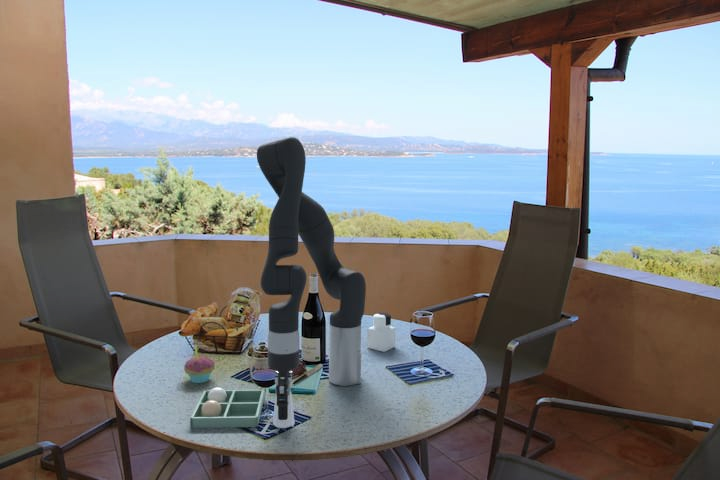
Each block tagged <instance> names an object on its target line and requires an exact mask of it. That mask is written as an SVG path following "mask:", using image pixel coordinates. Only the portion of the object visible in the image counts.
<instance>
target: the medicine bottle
mask: <svg viewBox="0 0 720 480" xmlns="http://www.w3.org/2000/svg"><path fill="white" fill-rule="evenodd" d="M372 319H373V321H372V323H373V325H372V326H370V327H369V328H367V349H371V350H375V351H379V352H383V353H385V352H388V351H389V350H391V349H393V348H396V331H397V328H396V327H395V326H392V325H391V323H392V316H391V314H389V313H387V312H377V313H374V314H373V317H372Z"/></svg>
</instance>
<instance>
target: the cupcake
mask: <svg viewBox="0 0 720 480" xmlns="http://www.w3.org/2000/svg"><path fill="white" fill-rule="evenodd" d="M194 352H195V353H194V354H195V357H193V358H190V359H188V361H186V362H185V364H184V366H183V367H184V368H183V369H184V372H185V374H187V375H188V377H189V379H190V381H191V383H194V384H202V383H206V382H208V381H209V380H210V377H211V374H212V372H213V371H214V370H215V368H216V366H215V365H216V364H215V362H214V360H213V359H210V358H209V357H207V356H203V355H201V356H199V355H198V354H199V353H198V346H197V345H196V343H194Z"/></svg>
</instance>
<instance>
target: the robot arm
mask: <svg viewBox="0 0 720 480" xmlns="http://www.w3.org/2000/svg"><path fill="white" fill-rule="evenodd" d="M306 158H307V157H306V151H305V149H304V145H303V143H302V142H301V141H300V140H299V138H297V137H295V136H287V137H282V138H280V139H279V138H278V139H275V140H272V141H269V142H265V143H262V144H261V145H259V147H257V150H256V160H257V163H258V166H259V169H260V171H261V172H262V173H261V174H263V176H264V178H265V179H266V180H267V182H268V184H269V185H270V186H271V188H272V189H273V191H274V193H275V194H276V196H277V198H278V200H277V202H276V203H275V206H274V207H273V210H272V212H271V215H270V218H269V223H268V224H269V225H268V251H267V257H266V260H265V265H264V267H263V270H262V274H261V277H260V288H261V290H262V292H263V293H264V294H266V295H267V296H289V295H290V297H289V298H288V299H287V300H285V301H283V302H278V303H274V304H272V305H270V306H269V308H268V335H267V365H268V368H269V369H271V370H273V371H275V375H274V384H275V396H276V395H277V403H276V405H277V406H278V419H279V420H287V418H288V404H289V402H288V396H289V395H290V391H291V388H292V381H293V380H292V379H293V371H294V370H295V369H297V368H298V367H299V366H300V332H299V322H300V321H299V318H300V317H299V316H300V315H299V314H300V307H301V306H300V305H301V301H302V298H303V295H304V294H303V293H304V292H305V287H306V286H307V285H306V283H307V272H306V270H305V269H304V268H303V266H302V265H297V264H278V262H279V261H280V260H282V259H286V258H290V257H293V256H295V255H296V254H298V252H299V238H300V239H301V241H302V243H303V244H304V246H305V248H306V250H307V252H308V254H309V256H310V258H311V260H312V262H313V263H314V265H315V268H316V270H317V272H318V276H319V278H320V280H321V284H322V285H323V287H324V290H325V291H326V293H327V295H329V297H331V298H333V299H335V300H338V301H339V302H340V303H339V310H335V311H333V312H331V313H330V315H329V337H328V338H329V344H328V345H329V347H328V348H329V349H328V350H329V351H328V353H329V354H328V381H329V382H330V383H331V384H333V385H336V386H340V387H341V386H343V387H348V386H354V385H357V384H358V385H359V384H361V382H362V320H363V317H364V314H365V308H366V307H365V306H366V291H367V284H366V279H365V277H364V275H363V274H362V273H361V272H359V271H356V270H352V269H349V268H345V267H344V266H343V265H342V263H341V262H340V260H339V258H338V256H337V255H336V252H335V230H334V226H333V224H332V222H331V220H330V217H329V216H328V214H327V212H326V210H325V208H324V207H323V206H322V205H321V204H320V203H319V202H317V201H316V200H315V199H313V198H312V197H310V196H309V195H308V194H306V193H304V192H303V185H304V177H305V172H306V171H305V170H306ZM287 390H288V391H287ZM280 399H285V400H280Z"/></svg>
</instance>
